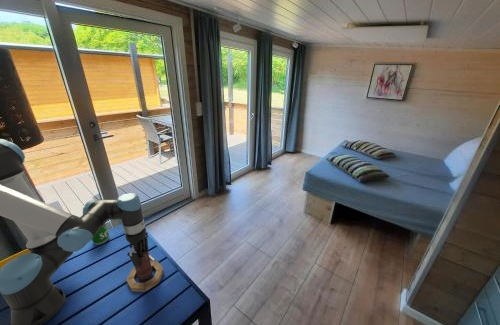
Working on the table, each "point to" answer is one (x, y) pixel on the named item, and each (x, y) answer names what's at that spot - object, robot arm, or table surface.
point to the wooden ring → (149, 284)
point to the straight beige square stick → (151, 258)
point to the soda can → (101, 236)
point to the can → (144, 267)
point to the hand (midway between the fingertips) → (144, 270)
